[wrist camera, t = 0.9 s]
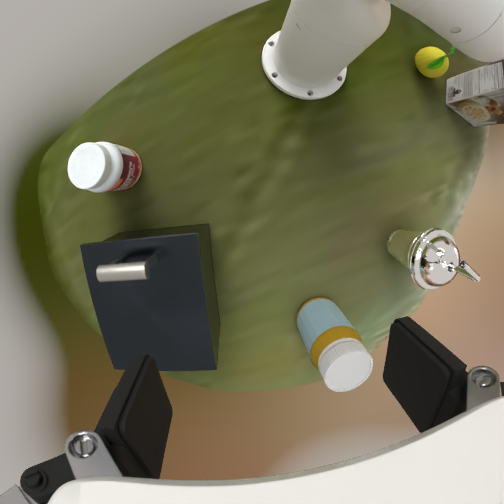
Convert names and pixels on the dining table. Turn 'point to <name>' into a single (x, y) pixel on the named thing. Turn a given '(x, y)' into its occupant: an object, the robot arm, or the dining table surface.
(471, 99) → the coffee box
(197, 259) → the bin lid
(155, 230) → the waste bin
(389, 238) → the cup with straw
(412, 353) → the robot arm
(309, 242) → the dining table surface
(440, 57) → the lemon
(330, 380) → the bottle
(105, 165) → the pill bottle
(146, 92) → the dining table surface
